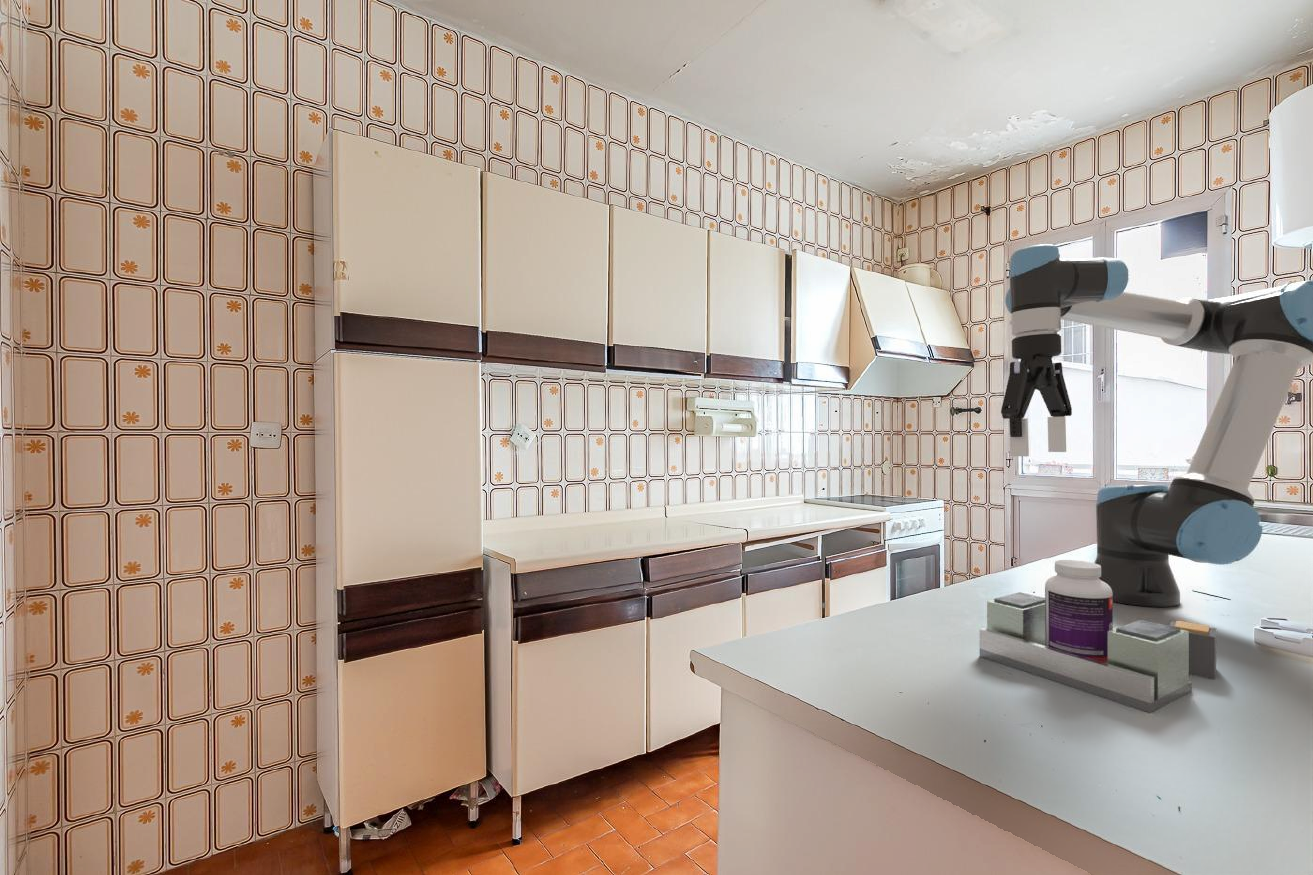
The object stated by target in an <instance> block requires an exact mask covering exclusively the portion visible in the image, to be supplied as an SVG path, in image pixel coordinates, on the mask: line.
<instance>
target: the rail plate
mask: <svg viewBox="0 0 1313 875" xmlns="http://www.w3.org/2000/svg"><path fill="white" fill-rule="evenodd" d="M978 630H979V631H978V632H979V633H978V634H979V657H981V658H983V659H984V658H985V659H988V660H990V661H993V662H997V663H999V664H1003V665H1006V666H1009V667H1011V668H1014V669H1017V670H1020V671H1023V672H1026V673H1030V674H1032V675H1035V676H1038V677H1041V678H1044V679H1046V680H1050V681H1053V682H1056V683H1059V684H1063V685H1066V686H1069V687H1071V688H1074V689H1078V690H1080V691H1083V692H1086V693H1089V694H1093V695H1094V696H1095V695H1096V696H1099V697H1102V698H1104V699H1107V700H1110V701H1114V702H1117V703H1119V704H1122V705H1126V706H1128V707H1131V708H1135V709H1138V710H1141V711H1144V712H1147V713H1149V714H1151V713H1152V712H1155V711H1156V710H1159V709H1160V708H1162V707H1165V706H1166V705H1168V704H1170V703H1171V702H1174V701H1175V700H1177V699H1179V698H1181V697H1183V696H1185V695H1187V694H1189V693H1191V692H1192V691H1193V687H1192V686H1193V682H1192V681H1190V680H1189V678H1190V677H1189V631H1186V630H1182V629H1180V628H1177V627H1172V626H1169V625H1168V624H1163V623H1159V622H1155V621H1154V622H1153V621H1148V620H1145V619H1138V620H1135V621H1131V622H1130V623H1127V624H1124V625H1121V626H1118V627H1116V628H1113V630H1110V631H1108V664H1106V663H1103V662H1099V661H1096V660H1092V659H1089V658H1085V657H1082V656H1079V655H1075V654H1072V653H1068V652H1065V651H1061V650H1058V649H1054V648H1051V647H1047V646H1045V597H1042V596H1038V595H1034V594H1029V593H1024V592H1021V591H1020V592H1016V593H1011V594H1008V595H1007V594H1006V595H1003V596H999V597H996V598H994V599H991V600H988V601H986V628H984V627H983V628H982V627H981V628H979V629H978Z"/></svg>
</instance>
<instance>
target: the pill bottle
mask: <svg viewBox="0 0 1313 875" xmlns="http://www.w3.org/2000/svg"><path fill="white" fill-rule="evenodd" d="M1054 572H1055V574H1056V575H1054V576H1051V577H1049V578H1047V580H1046V581H1045V584H1044V598H1045V646H1047V647H1051V648H1054V649H1058V650H1061V651H1065V652H1068V653H1072V654H1075V655H1079V656H1082V657H1085V658H1089V659H1092V660H1096V661H1099V662H1103V663H1106V664H1108V631H1110V630H1113V629H1114V628H1113V627H1114V625H1113V624H1114V622H1113V617H1114V616H1113V613H1114V612H1113V610H1114V609H1113V607H1114V605H1113V603H1114V601H1113V592H1112V589H1111V587H1110V586H1109V585H1108V584H1106V583H1105V582H1103V581H1101V580H1100V579H1099V577H1101V566H1100V565H1098V564H1095V563H1094V562H1090V561H1086V560H1085V561H1084V560H1074V559H1073V560H1072V559H1061V560H1060V559H1059V560H1055V561H1054Z"/></svg>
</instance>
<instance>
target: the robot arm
mask: <svg viewBox="0 0 1313 875" xmlns="http://www.w3.org/2000/svg"><path fill="white" fill-rule="evenodd" d="M1059 250H1060V249H1059V247H1058V246H1057V245H1053V244H1050V243H1049V244H1047V243H1046V244H1044V243H1043V244H1037V245H1030V246H1027V247H1023V248H1020V249H1018V250H1016V251H1014V252H1013V253H1012V254H1011V256H1010V259H1009V276H1008V279H1009V289H1008V290H1007V292H1006V295H1005V299H1004V300H1005V302H1004V303H1005V307H1006V309H1007V311H1008V312H1009V313H1010V314H1011V315H1010V318H1011V319H1010V320H1009V325H1010V326H1011V335H1012V336H1014V338H1012V340H1011V356H1012V358H1013V359H1014V360H1019V361H1011V362H1010V363H1009V375H1008V380H1007V384H1006V388H1005V392H1004V396H1003V400H1002V401H1003V402H1002V405H1001V409H1000V413H1001V417H1002V419H1003V420H1005V419H1007V420H1008V419H1009V420H1008V421H1009V422H1008V424H1009V456H1010V457H1029V455H1030V452H1029V451H1030V449H1029V419H1028V418H1027V417H1026V418H1025V416H1026V413H1027V411H1028V408H1029V406H1030V403H1031V401H1032V399H1033V396H1034V393H1035V391H1039V393H1040V395H1041V398H1042V399H1043V402H1044V404H1045V406H1046V408H1047V410H1048V413H1049V415H1050V416H1047V443H1048V444H1047V446H1048V447H1047V448H1048V453H1066V452H1067V428H1066V425H1067V424H1066V417H1071V416H1072V415H1073V414H1072V413H1073V411H1072V410H1073V409H1072V408H1073V407H1072V404H1071V400H1070V396H1069V393H1068V390H1067V386H1066V382H1065V378H1064V373H1063V372H1064V370H1063V364H1062V362H1053V357H1058V356H1060V355H1061V354H1062V336H1061V335H1060V334H1059V332H1060V331H1061V330H1062V320H1063V321H1067V322H1073V323H1077V324H1078V323H1080V324H1085V325H1091V326H1095V327H1100V328H1101V327H1102V328H1105V329H1111V330H1115V331H1116V330H1118V331H1123V332H1128V333H1134V334H1138V335H1139V334H1140V335H1142V336H1148V337H1155V338H1160V339H1161V340H1162V342H1163V343H1165V344H1167V345H1170V346H1175V347H1180V348H1185V349H1191V350H1197V351H1202V352H1208V353H1214V354H1215V353H1216V354H1227V355H1231V356H1232V357H1233V358H1234V361H1233V364H1232V367H1231V368H1230V371H1229V372H1228V376H1227V378H1226V380H1225V383H1224V385H1223V387H1222V390H1221V391H1220V394H1219V397H1218V400H1217V401H1216V404H1215V406H1214V408H1213V411H1212V414H1211V415H1210V418H1209V420H1208V423H1207V425H1206V427H1205V429H1204V433H1203V435H1202V436H1201V438H1200V442H1199V445H1198V446H1197V448H1196V450H1195V454H1194V455H1193V458H1192V460H1191V463H1190V464H1189V468H1188V470H1187V472H1186V473H1185V474H1182V475H1179V476H1176V477H1174V478H1173V479H1172V482H1171V483H1170V486H1168V485H1166V484H1138V485H1137V484H1136V485H1134V484H1133V485H1109V486H1108V485H1107V486H1103V487H1101V488H1100V489H1099V490H1098V492H1097V496H1096V498H1097V499H1096V504H1095V508H1096V510H1095V512H1096V515H1095V516H1096V558H1095V560H1094V562H1093V563H1095V564H1098V565H1100V566H1101V577H1099V579H1100V580H1101V581H1103V582H1105V583H1106V584H1108V585H1109V586H1110V587H1111V589H1112V592H1113V603H1115V602H1116V603H1118V604H1119V603H1120V604H1126V605H1130V606H1131V605H1132V606H1141V607H1142V606H1143V607H1154V608H1155V607H1156V608H1157V607H1159V608H1161V607H1162V608H1163V607H1164V608H1166V607H1175V606H1178V605H1180V604H1181V591H1180V588H1179V586H1178V583H1177V581H1176V577H1175V576H1174V574H1173V570H1172V568H1171V566H1170V561H1169V560H1170V559H1169V556H1172V557H1173V556H1174V557H1177V558H1183V559H1186V560H1190V561H1192V562H1195V563H1201V564H1211V565H1218V566H1219V565H1231V564H1232V563H1235V562H1239V561H1241V560H1243V559H1245V558H1246V557H1248V556H1249V555H1250V554H1251V553H1253V551H1254V550H1255V549H1256V548H1257V546H1258V544H1259V543H1260V540H1261V537H1262V536H1263V535H1262V534H1263V525H1262V524H1260V522H1261V521H1262V518H1261V516H1260V514H1259V512H1258V511H1257V510H1256V509H1255V507H1254V506H1255V502H1256V500H1255V498H1254V497H1253V495H1252V494H1251V492H1250V491H1249V486H1250V484H1251V483H1252V482H1251V481H1252V479H1253V477H1254V475H1255V472H1256V469H1257V467H1258V465H1259V463H1260V460H1261V457H1262V456H1263V454H1264V451H1265V449H1266V447H1267V444H1268V442H1269V439H1270V437H1271V434H1272V432H1273V430H1274V427H1275V424H1276V423H1277V420H1278V418H1279V416H1280V413H1281V410H1282V408H1283V407H1284V404H1285V401H1286V399H1287V396H1288V394H1289V392H1290V389H1291V387H1292V384H1293V383H1294V379H1295V378H1296V375H1297V373H1298V370H1300V369H1303V368H1305V367H1307V366H1309V365H1311V364H1313V279H1312V280H1305V281H1304V280H1303V281H1300V282H1296V281H1295V282H1294V281H1293V282H1288V283H1285V284H1284V285H1279V286H1274V287H1269V288H1265V289H1260V290H1256V291H1251V292H1246V293H1241V294H1240V293H1239V294H1235V295H1231V296H1226V297H1219V298H1212V299H1196V298H1192V297H1185V298H1181V299H1179V300H1174V299H1173V300H1172V299H1168V298H1163V297H1158V296H1151V295H1146V294H1143V293H1142V294H1140V293H1136V292H1131V291H1125V290H1126V288H1127V286H1128V284H1129V279H1130V278H1129V268H1128V266H1127V265H1126V263H1125V262H1124V261H1123V260H1122V259H1119V258H1113V257H1103V256H1099V257H1090V258H1089V257H1088V258H1083V257H1081V258H1061V254H1060V251H1059Z"/></svg>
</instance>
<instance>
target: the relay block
mask: <svg viewBox="0 0 1313 875" xmlns="http://www.w3.org/2000/svg"><path fill="white" fill-rule="evenodd" d="M1168 626H1172V627H1177V628H1180V629H1182V630H1186V631H1189V675H1191V676H1195V677H1200V678H1205V679H1209V680H1215V679H1216V673H1217V628H1215V627H1210V625H1209V624H1200V623H1195V622H1188V621H1181V620H1176V621H1173V620H1171V621H1170V623H1169V625H1168Z"/></svg>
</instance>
